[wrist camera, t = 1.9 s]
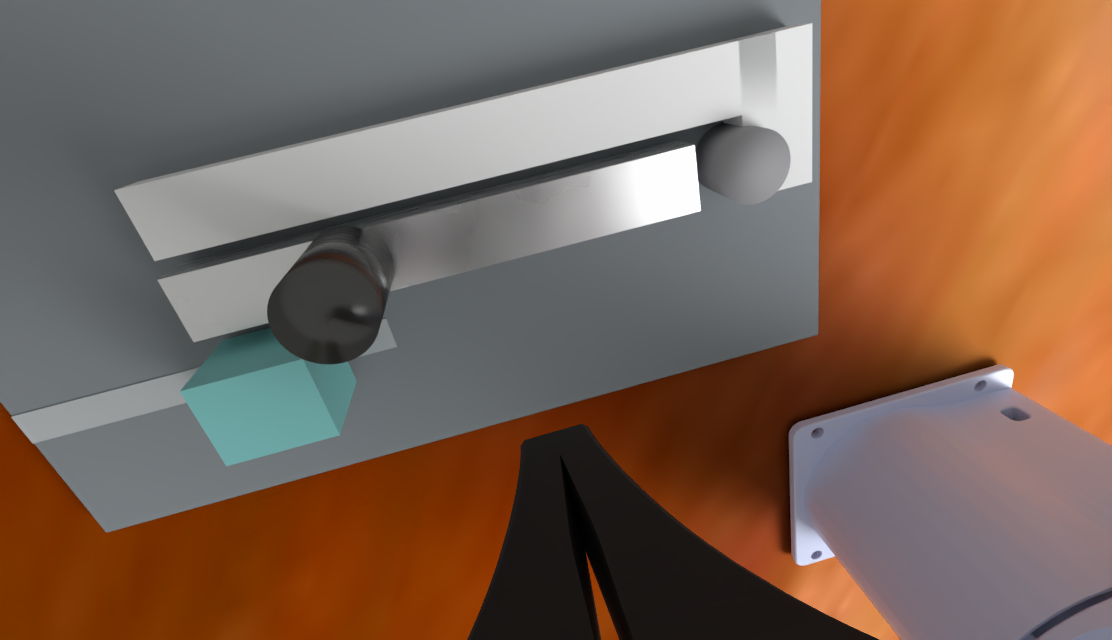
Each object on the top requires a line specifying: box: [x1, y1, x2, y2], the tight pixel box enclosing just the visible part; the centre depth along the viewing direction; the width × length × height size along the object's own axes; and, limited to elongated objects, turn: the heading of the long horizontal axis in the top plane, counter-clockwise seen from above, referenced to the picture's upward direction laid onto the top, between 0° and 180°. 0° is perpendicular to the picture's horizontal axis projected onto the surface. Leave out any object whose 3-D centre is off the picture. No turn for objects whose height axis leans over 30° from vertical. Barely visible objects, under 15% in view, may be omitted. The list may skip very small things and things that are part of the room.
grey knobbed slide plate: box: [0, 0, 821, 533], centre depth 15 cm, size 25×15×2 cm, turn 102°
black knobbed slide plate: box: [158, 140, 701, 365], centre depth 13 cm, size 14×2×4 cm, turn 102°
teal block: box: [180, 328, 357, 466], centre depth 15 cm, size 3×2×3 cm
